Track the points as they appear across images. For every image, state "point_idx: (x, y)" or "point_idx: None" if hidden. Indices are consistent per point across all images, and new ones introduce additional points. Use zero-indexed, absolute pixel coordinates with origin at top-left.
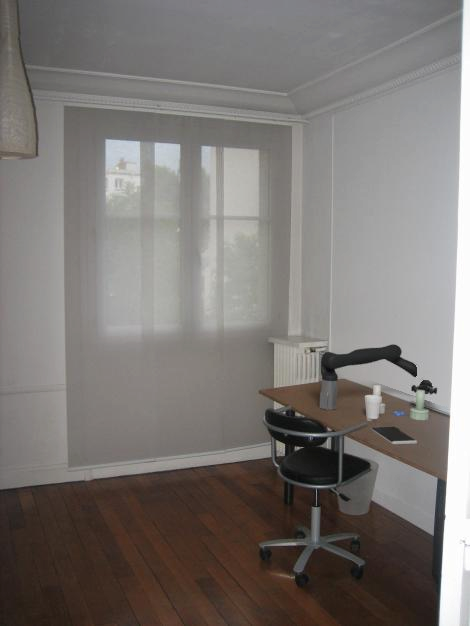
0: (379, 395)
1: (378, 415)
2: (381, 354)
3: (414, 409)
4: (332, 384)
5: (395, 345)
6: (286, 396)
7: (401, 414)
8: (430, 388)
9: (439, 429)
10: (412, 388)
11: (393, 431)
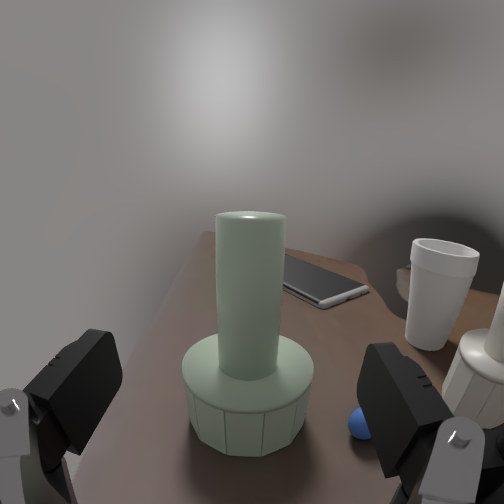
0: (500, 297)
1: (408, 318)
2: None
3: (283, 359)
4: None
5: None
6: None
7: None
8: (14, 456)
9: (157, 332)
10: (494, 438)
11: (302, 278)
